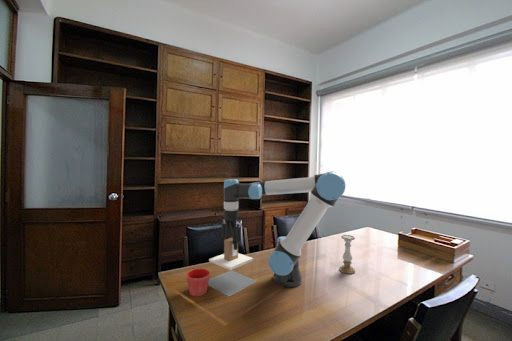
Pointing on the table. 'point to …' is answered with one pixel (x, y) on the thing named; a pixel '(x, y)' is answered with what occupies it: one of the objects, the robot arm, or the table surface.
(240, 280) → the mat
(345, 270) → the candle holder
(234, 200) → the robot arm
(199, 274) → the flower pot
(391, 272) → the table surface
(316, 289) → the table surface
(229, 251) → the lid
